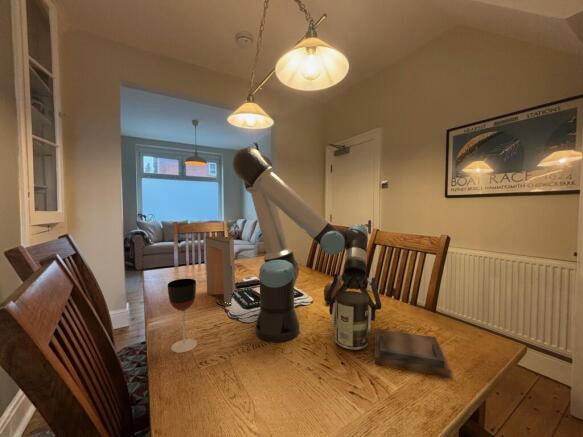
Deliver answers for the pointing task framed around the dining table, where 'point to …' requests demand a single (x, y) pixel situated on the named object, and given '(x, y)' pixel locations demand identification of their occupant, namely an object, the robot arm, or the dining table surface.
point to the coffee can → (351, 319)
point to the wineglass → (182, 308)
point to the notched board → (410, 352)
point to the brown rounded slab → (329, 287)
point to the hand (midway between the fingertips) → (350, 327)
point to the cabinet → (220, 268)
